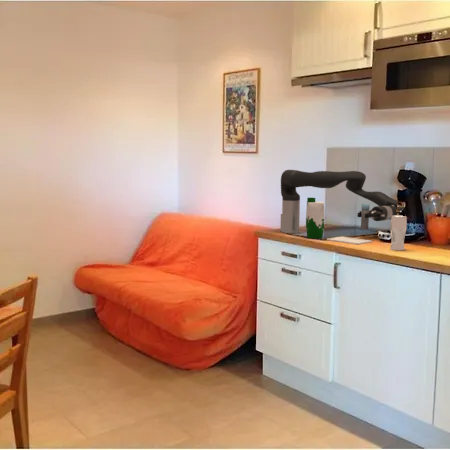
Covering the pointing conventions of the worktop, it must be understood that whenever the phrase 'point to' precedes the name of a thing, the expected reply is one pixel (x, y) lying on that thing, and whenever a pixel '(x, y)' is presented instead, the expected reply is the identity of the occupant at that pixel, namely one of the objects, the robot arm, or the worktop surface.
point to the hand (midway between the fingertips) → (361, 215)
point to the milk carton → (314, 218)
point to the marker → (364, 220)
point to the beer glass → (398, 231)
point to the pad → (349, 240)
